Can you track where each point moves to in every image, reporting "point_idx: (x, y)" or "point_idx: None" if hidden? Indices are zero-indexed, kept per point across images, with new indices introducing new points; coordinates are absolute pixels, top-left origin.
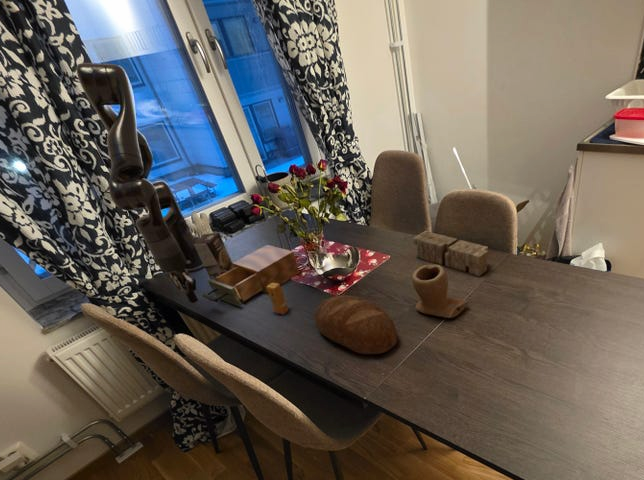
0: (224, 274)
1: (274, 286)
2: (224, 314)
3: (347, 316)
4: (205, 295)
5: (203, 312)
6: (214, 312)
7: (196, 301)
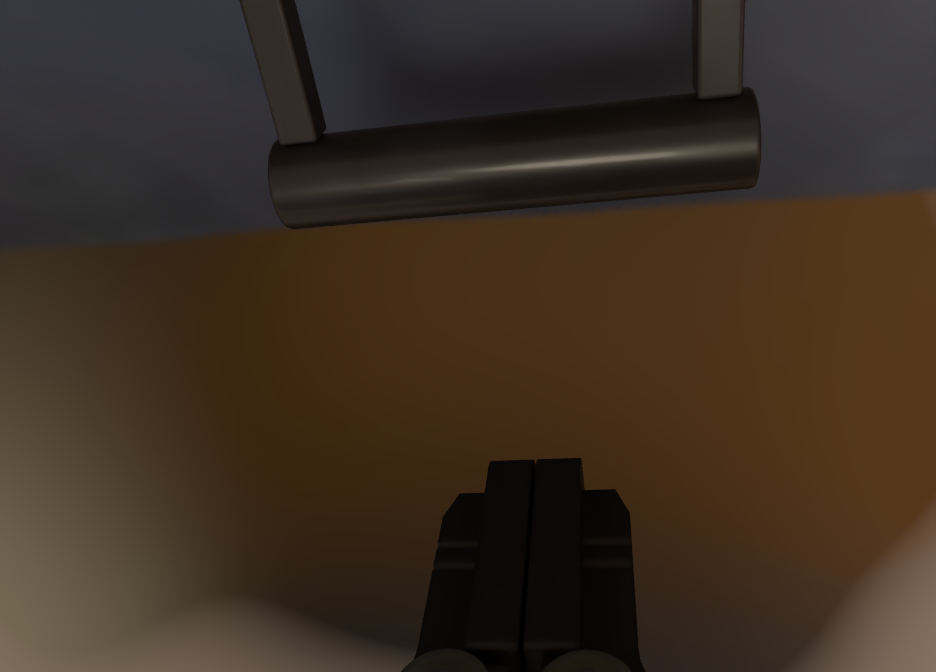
0: None
1: None
2: (752, 44)
3: None
4: (381, 213)
5: None
6: None
7: (583, 481)
